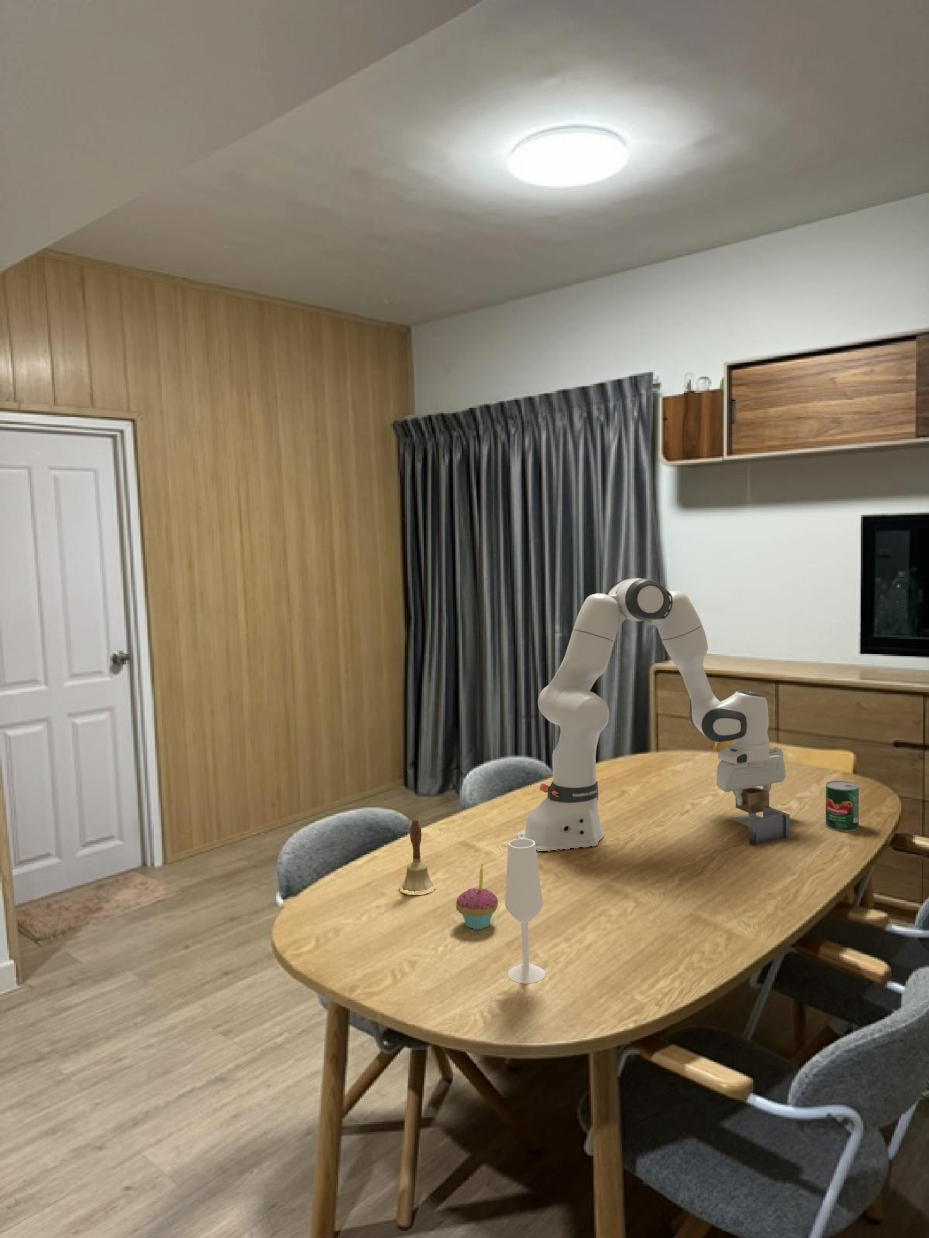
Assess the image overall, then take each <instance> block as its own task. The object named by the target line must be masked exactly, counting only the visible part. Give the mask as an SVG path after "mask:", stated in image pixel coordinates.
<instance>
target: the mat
mask: <svg viewBox="0 0 929 1238" xmlns="http://www.w3.org/2000/svg"><path fill="white" fill-rule="evenodd" d="M760 817H762V816H760V815H758V814H756V818H760ZM732 821H735V822H737V823H740V824H742V825H744V826H746V827H748V828H749V814H745V815H739V816H735V817H732Z"/></svg>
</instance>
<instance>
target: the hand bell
mask: <svg viewBox="0 0 929 1238" xmlns="http://www.w3.org/2000/svg"><path fill="white" fill-rule="evenodd" d="M409 837H410V842H411V846H412V862H411V863H409V864H408V865H407V866H406V876H405V879H404V880H403V882H402V883H401V884H402V885H401V884H400V886H402V888H403V890H408V891H414V892H415V891H421V890H427V889H429V888H430V887H431V886H433V882H434V881H433V882H432V879H431V878H430V875H429V871H428V866H427V864H426V862H423V861H421V849H420V847H421V843H422V827H421V825H420V822H419V819H417V818H415V819H414V818H413V819H412V820H411V825H410V829H409Z"/></svg>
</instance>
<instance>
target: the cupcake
mask: <svg viewBox="0 0 929 1238" xmlns="http://www.w3.org/2000/svg"><path fill="white" fill-rule="evenodd" d="M483 865H484V863H482V864H481V867H480V868H479V882H478V885H479V886H478V888H475V887H472V888H469V889H467V890H466V891H464V892H463V893H461V894H459V896H458V898H456V903H455V908H456V911H457V912H458V913H459V914H461V915H462V918H463V919H464V922H465V926H466V925H467V926H468V927H470V928H469V929H471V928H473V929H472V930H483V928H484V929H486V928H489V926H490V925H489V924H491V921H492V920H491V919H492V917H493V914H494V913H495V912H496V910H497V908H498V905H499V900H498V897H497V896H496V894H494V892H492V891H491V890H488V889H487V888H483V881H484V880H483V879H484V868H483ZM467 926H466V927H467ZM468 927H467V928H468ZM485 927H486V928H485Z"/></svg>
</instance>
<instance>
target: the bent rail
mask: <svg viewBox="0 0 929 1238" xmlns="http://www.w3.org/2000/svg"><path fill="white" fill-rule="evenodd" d="M748 815H749V827H748V844H749V845H751V846H756V845H758V844H762V843H763V842H764V843H767V842H772V841H777V840H782V839H785V838H786V840H787V839H790V838H791V836H790V835H791V822H790V821H791V820H790V819H791V815H790V814H789V813H787V812H785V811H781V810H779V809H776V808H773V807H771V806H770V805H769V806H763V812H762V816H761V817H760V818H756V815H757V813H748Z"/></svg>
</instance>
